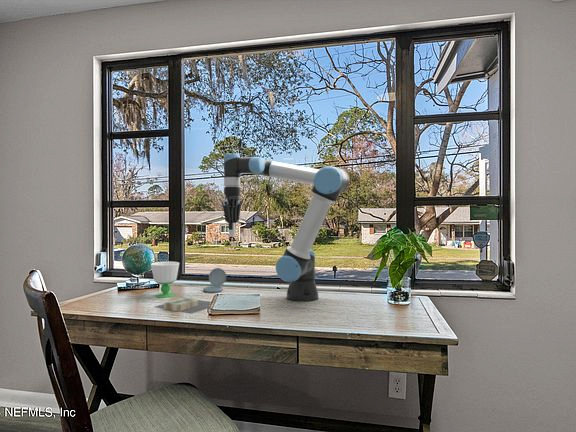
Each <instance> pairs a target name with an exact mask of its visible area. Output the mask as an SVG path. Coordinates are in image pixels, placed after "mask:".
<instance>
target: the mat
mask: <svg viewBox="0 0 576 432" xmlns="http://www.w3.org/2000/svg"><path fill="white" fill-rule="evenodd" d="M197 300H198V306H195V307H192V308H188V309H185V310H182V311H178V312H179V313H186V314H192V315H193V314H195V313H198V312H201V311H204V310H208V309H210V308H209V305H210V303H211V302H212V301H207V300H201V299H197ZM154 308H156V309H162V310H163V309H164V303H163V304H159V305H156V306H154ZM164 310H165V309H164Z"/></svg>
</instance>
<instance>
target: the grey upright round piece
mask: <svg viewBox="0 0 576 432" xmlns="http://www.w3.org/2000/svg"><path fill="white" fill-rule="evenodd" d="M208 281H209V283H210V285H212V286H210V285H209V286H205V287H203V290H202V291H203V292H204V293H206V294H207V293H208V294H213V293H214V294H216V293H221V292H222V291H223V290H224V288H223V287H222V286H223V285H224V284H225V283H226V281H227V273H226V271H225V270H224V269H222V268H219V267H216V268H214V269H212V270H211V271H210V273H209V275H208Z"/></svg>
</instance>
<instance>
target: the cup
mask: <svg viewBox="0 0 576 432" xmlns="http://www.w3.org/2000/svg"><path fill="white" fill-rule="evenodd" d="M179 267H180V262H178V261H156V262H152V263H151V264H150V270H151V272H152V277H153V281H154V282H155V283H156V284H159V285H161V287H160V291H161V293H158V294H156V295H155V297H156V298H170V297H174V296H175V295H176V294H175V293H172V292H170V291H171V286H170V284H173V283H174V282H176V281H177V279H178V273H179Z"/></svg>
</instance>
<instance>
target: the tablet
mask: <svg viewBox="0 0 576 432" xmlns="http://www.w3.org/2000/svg"><path fill="white" fill-rule="evenodd" d="M198 300H199V299H197V298H190V297H181V298H178V299H174V300H169V301H167V302H164V303H163V304H164V310H167V311H172V312H179V311H182V310H185V309H188V308H192V307H195V306H198Z"/></svg>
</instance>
